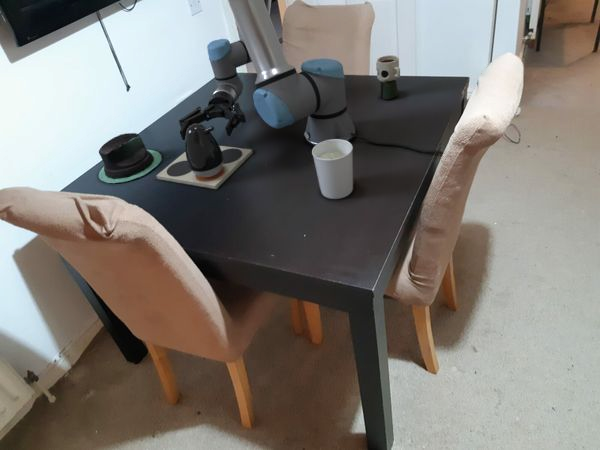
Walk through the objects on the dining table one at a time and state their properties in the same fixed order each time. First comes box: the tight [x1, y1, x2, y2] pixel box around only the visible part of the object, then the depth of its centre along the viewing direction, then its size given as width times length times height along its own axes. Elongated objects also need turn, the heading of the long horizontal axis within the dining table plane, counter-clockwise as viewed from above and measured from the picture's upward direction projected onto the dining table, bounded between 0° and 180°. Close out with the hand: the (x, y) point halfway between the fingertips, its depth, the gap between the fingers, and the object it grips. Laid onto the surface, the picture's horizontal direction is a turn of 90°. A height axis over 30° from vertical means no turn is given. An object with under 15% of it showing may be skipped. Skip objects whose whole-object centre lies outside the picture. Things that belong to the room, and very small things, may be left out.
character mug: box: [375, 55, 401, 100], centre depth 147 cm, size 11×7×13 cm, turn 34°
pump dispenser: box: [184, 123, 224, 178], centre depth 122 cm, size 10×10×15 cm
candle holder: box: [311, 139, 354, 200], centre depth 109 cm, size 10×10×12 cm
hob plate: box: [155, 145, 254, 190], centre depth 133 cm, size 22×20×1 cm
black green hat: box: [98, 132, 162, 184], centre depth 138 cm, size 15×19×20 cm
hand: (204, 133), depth 124 cm, fingers open, 13 cm apart
